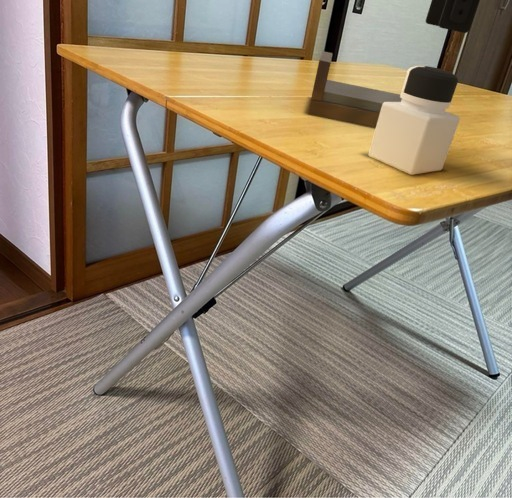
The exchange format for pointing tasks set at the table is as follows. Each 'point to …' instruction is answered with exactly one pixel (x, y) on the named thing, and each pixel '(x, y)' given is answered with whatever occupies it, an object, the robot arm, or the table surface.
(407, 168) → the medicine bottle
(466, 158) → the table surface
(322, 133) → the table surface
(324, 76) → the l-shaped brown block
